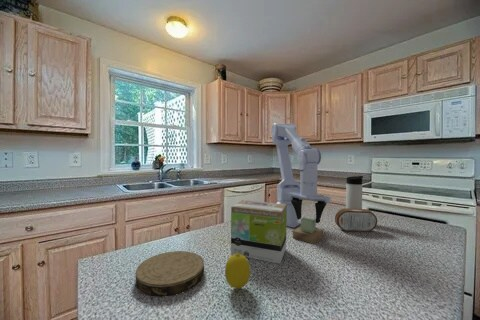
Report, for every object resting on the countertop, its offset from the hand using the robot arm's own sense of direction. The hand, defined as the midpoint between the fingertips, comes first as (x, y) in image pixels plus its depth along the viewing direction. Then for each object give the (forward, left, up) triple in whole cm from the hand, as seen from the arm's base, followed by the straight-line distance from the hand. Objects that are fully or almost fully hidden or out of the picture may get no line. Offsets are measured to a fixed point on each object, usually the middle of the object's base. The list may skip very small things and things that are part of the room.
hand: (308, 220), depth 79 cm
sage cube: (0, 0, -3) cm, 3 cm away
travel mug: (+9, +30, -6) cm, 32 cm away
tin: (+12, +18, -6) cm, 23 cm away
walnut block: (0, 0, -6) cm, 6 cm away
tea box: (-7, -21, -6) cm, 23 cm away
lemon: (-1, -39, -6) cm, 40 cm away
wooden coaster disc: (-17, -45, -7) cm, 49 cm away
